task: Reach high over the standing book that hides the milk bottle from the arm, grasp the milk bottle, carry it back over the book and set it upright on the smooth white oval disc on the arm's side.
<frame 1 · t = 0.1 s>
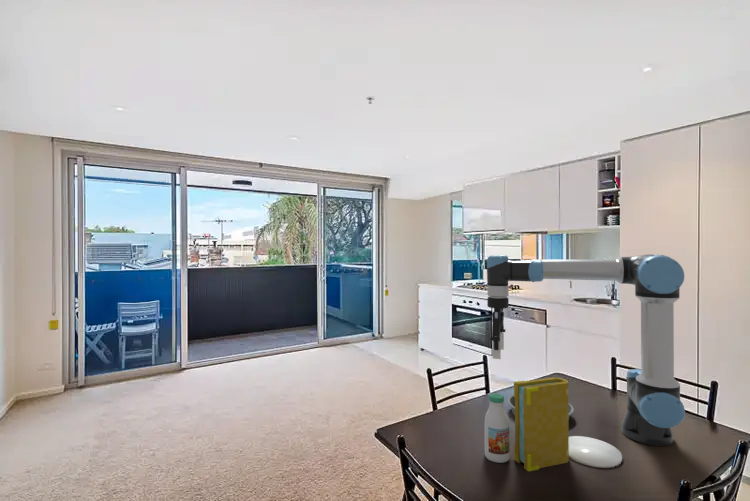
hand: (498, 353, 145), 28 cm above the table, fingers open, 13 cm apart
smooth white oval disc: (589, 452, 128), on the table
milk bottle: (497, 457, 126), on the table
cake pan: (539, 415, 158), on the table
book: (544, 461, 124), on the table
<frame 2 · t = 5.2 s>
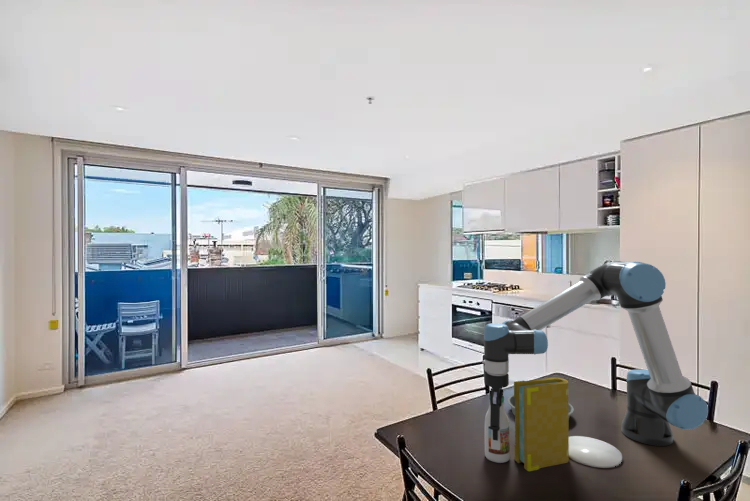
hand: (496, 442, 126), 5 cm above the table, fingers closed on milk bottle, 8 cm apart
milk bottle: (497, 457, 126), on the table, touching gripper
everything else where it was.
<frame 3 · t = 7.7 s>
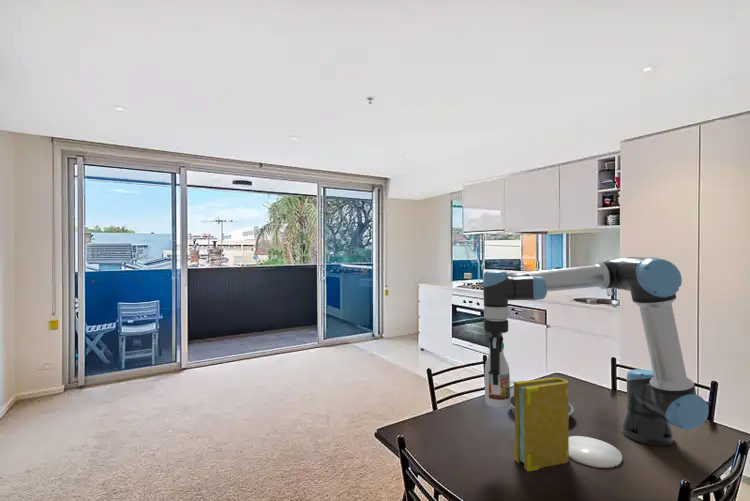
hand: (497, 389, 126), 22 cm above the table, fingers closed on milk bottle, 8 cm apart
milk bottle: (497, 404, 126), point 17 cm above the table, touching gripper
everything else where it was.
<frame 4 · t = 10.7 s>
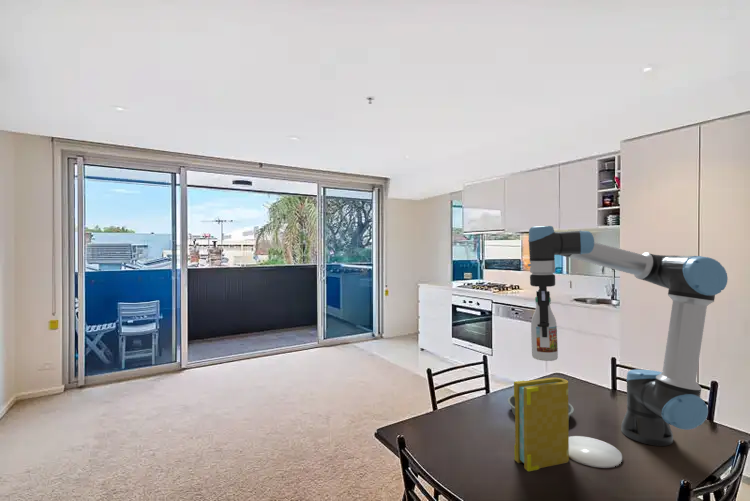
hand: (544, 343, 127), 36 cm above the table, fingers closed on milk bottle, 8 cm apart
milk bottle: (544, 358, 127), point 31 cm above the table, touching gripper
everything else where it was.
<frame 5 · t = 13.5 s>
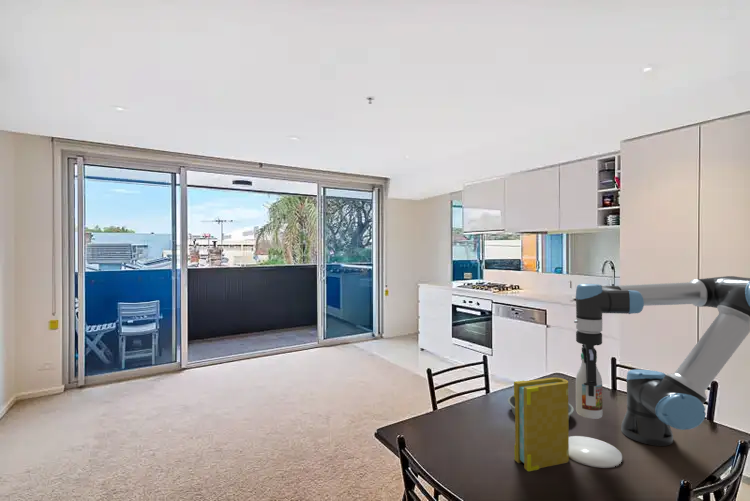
hand: (589, 400, 128), 17 cm above the table, fingers closed on milk bottle, 8 cm apart
milk bottle: (588, 415, 128), point 12 cm above the table, touching gripper
everything else where it was.
when the fingers open (7 cm above the table, at t = 16.2 s): milk bottle drops 1 cm, resting on smooth white oval disc.
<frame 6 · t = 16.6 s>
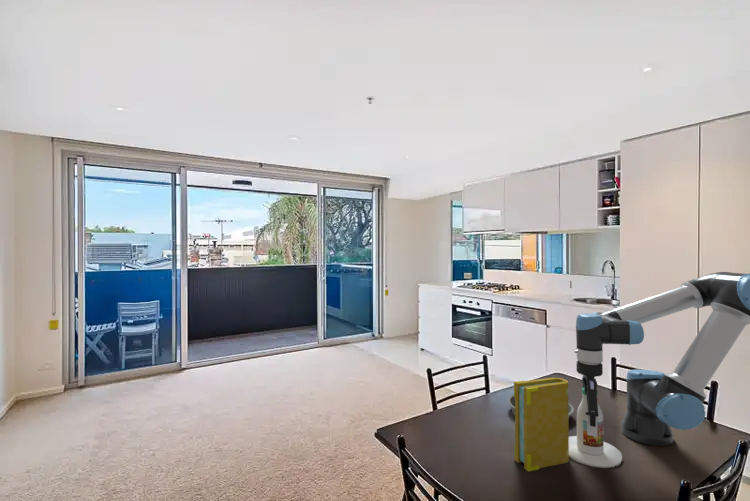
hand: (589, 426, 128), 9 cm above the table, fingers open, 13 cm apart
milk bottle: (590, 450, 128), point 1 cm above the table, touching smooth white oval disc
everything else where it was.
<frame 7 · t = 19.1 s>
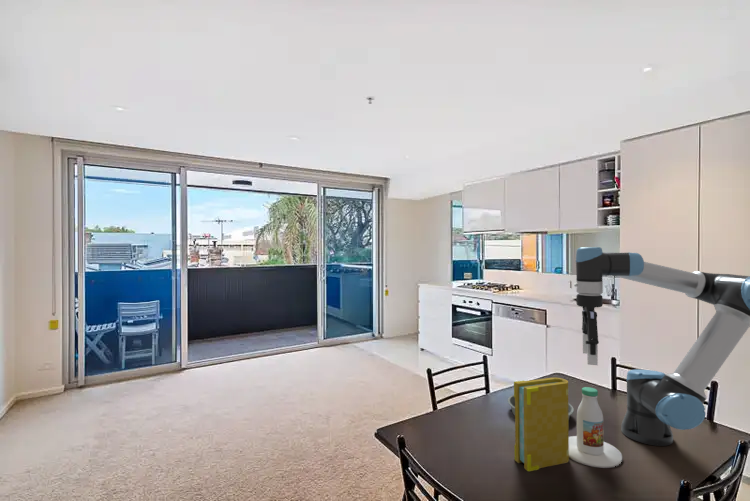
hand: (589, 358, 128), 31 cm above the table, fingers open, 13 cm apart
nothing on the table moved.
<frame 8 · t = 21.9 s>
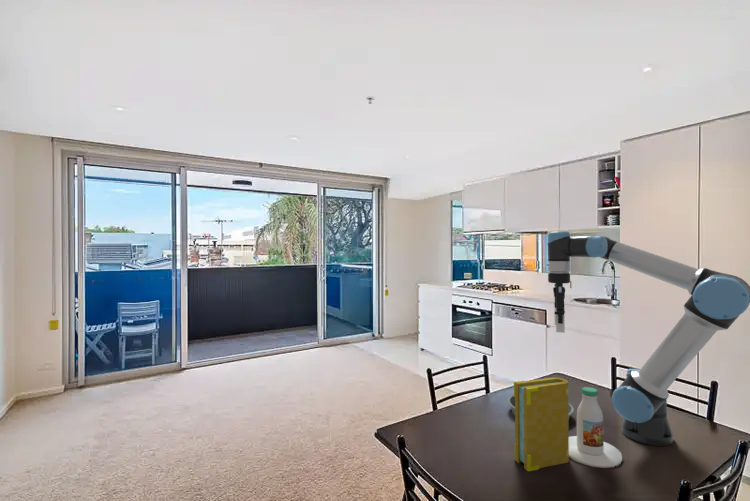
hand: (559, 328, 148), 37 cm above the table, fingers open, 13 cm apart
nothing on the table moved.
at the end: milk bottle inside the target area on the smooth white oval disc (0.3 cm from its centre), point 0.8 cm above the smooth white oval disc's base; milk bottle tilted 0°; book moved 0.2 cm from its start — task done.
